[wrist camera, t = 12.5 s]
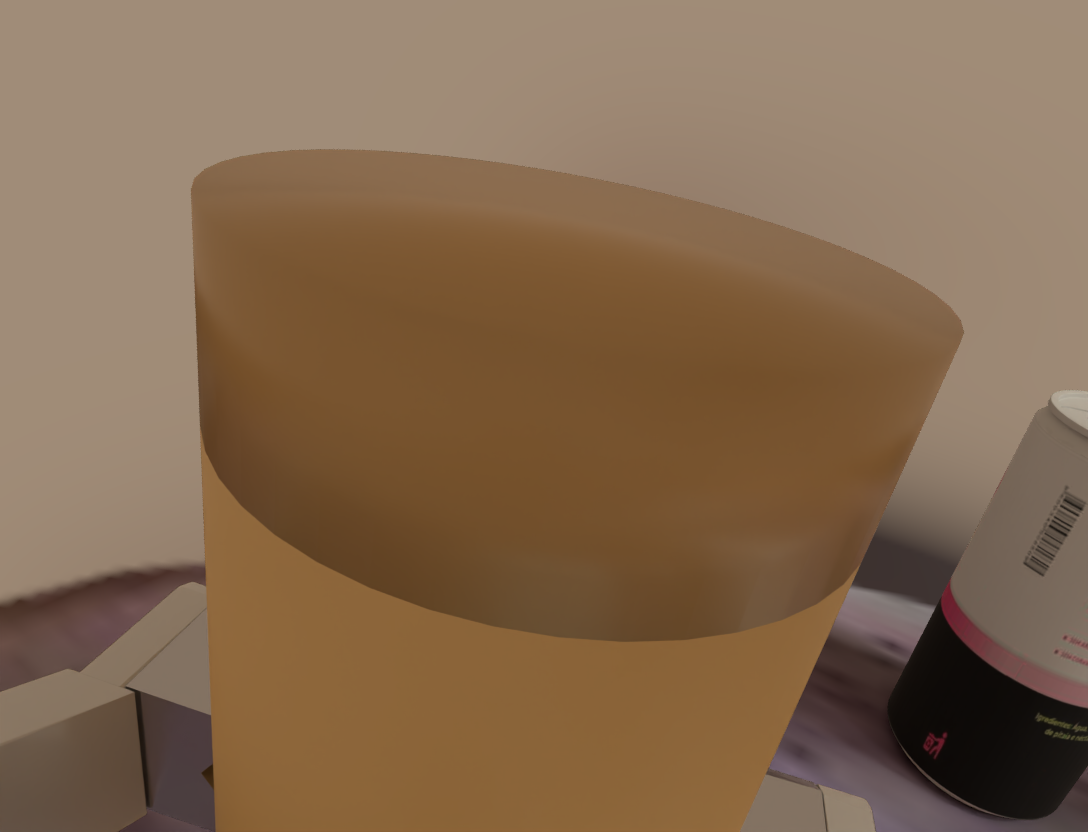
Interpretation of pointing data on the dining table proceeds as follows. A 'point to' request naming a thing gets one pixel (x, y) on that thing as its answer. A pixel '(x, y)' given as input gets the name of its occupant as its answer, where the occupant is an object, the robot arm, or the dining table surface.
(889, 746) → the dining table surface
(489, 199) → the plug
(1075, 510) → the beverage can
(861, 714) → the dining table surface
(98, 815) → the robot arm
